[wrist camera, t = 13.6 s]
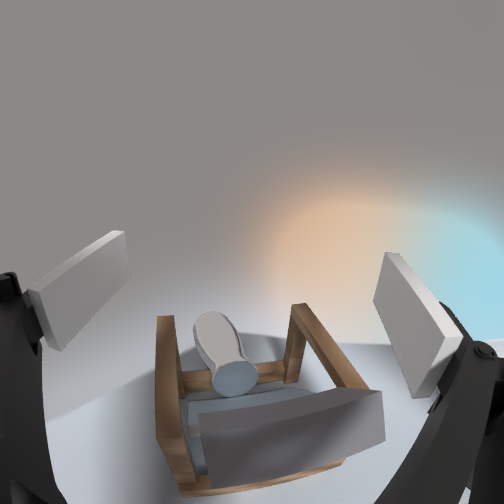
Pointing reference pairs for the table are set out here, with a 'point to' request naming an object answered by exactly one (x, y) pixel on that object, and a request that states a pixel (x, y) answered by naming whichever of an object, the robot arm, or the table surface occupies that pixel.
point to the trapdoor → (283, 432)
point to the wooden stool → (300, 329)
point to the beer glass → (224, 355)
